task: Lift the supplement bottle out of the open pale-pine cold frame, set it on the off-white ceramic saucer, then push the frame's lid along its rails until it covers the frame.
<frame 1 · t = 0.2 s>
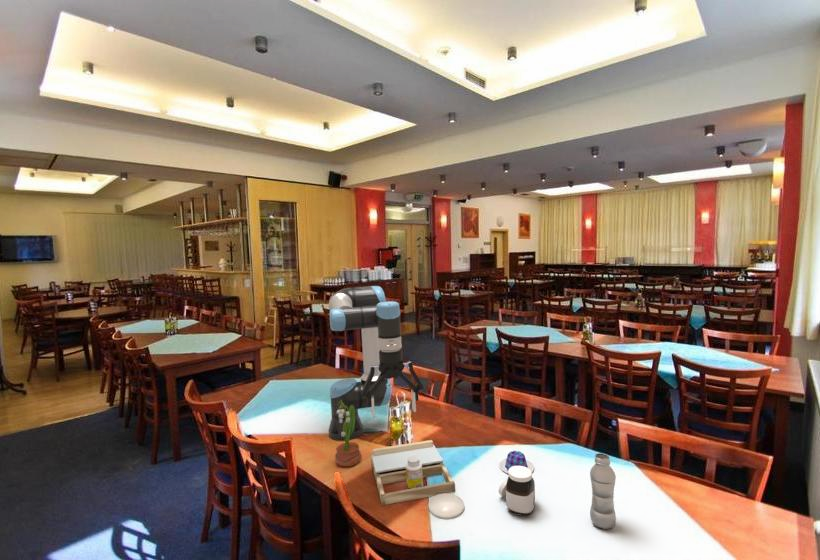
hand: (393, 413, 132), 27 cm above the table, fingers open, 13 cm apart
cold frame: (414, 487, 135), on the table
saucer: (446, 507, 125), on the table
plastic bottle: (603, 525, 114), on the table
potted flower: (347, 463, 154), on the table
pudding: (516, 468, 145), on the table
supplement bottle: (414, 488, 135), resting in cold frame
lid: (406, 455, 148), point 5 cm above the table, slide at 13.0 cm
spread jar: (516, 505, 124), on the table
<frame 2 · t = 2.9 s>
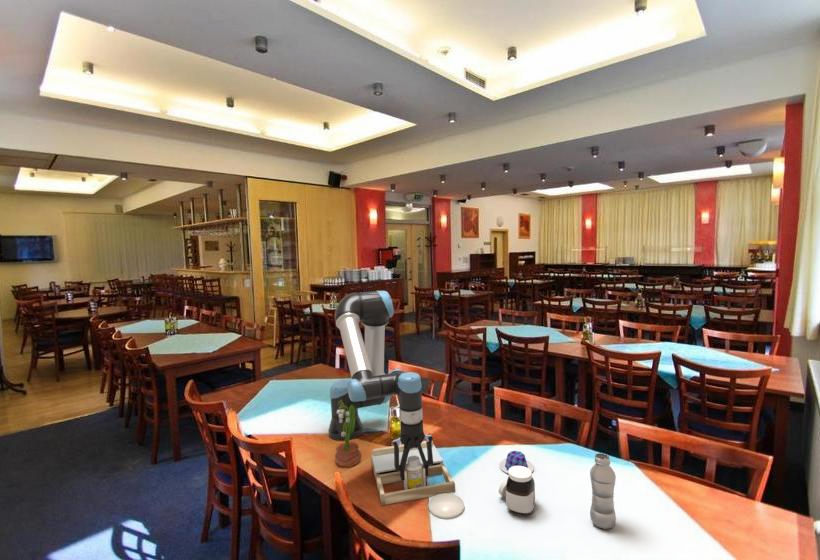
hand: (414, 486, 135), 0 cm above the table, fingers closed on supplement bottle, 5 cm apart
supplement bottle: (414, 488, 135), resting in cold frame, touching gripper
everything else where it was.
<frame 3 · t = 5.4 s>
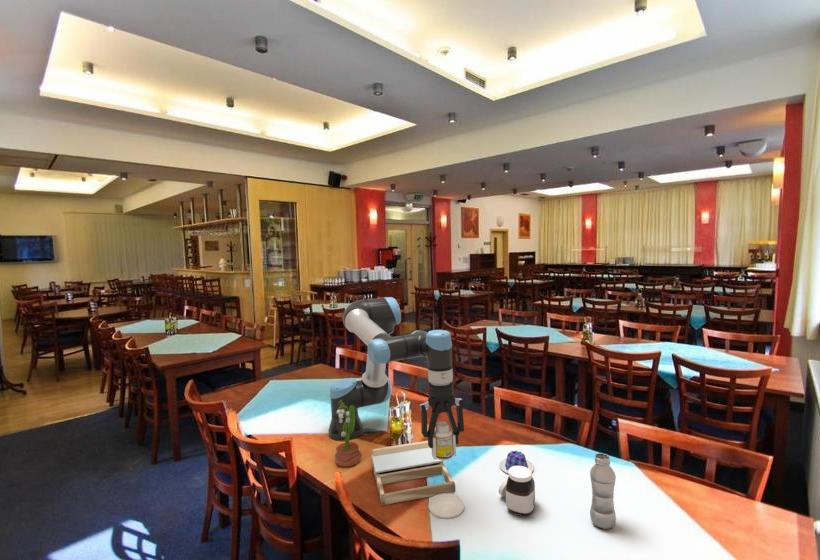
hand: (443, 455, 123), 17 cm above the table, fingers closed on supplement bottle, 5 cm apart
supplement bottle: (444, 457, 123), point 16 cm above the table, touching gripper
everything else where it was.
when the fingers open (3 cm above the table, at t = 8.2 s): supplement bottle drops 1 cm, resting on saucer.
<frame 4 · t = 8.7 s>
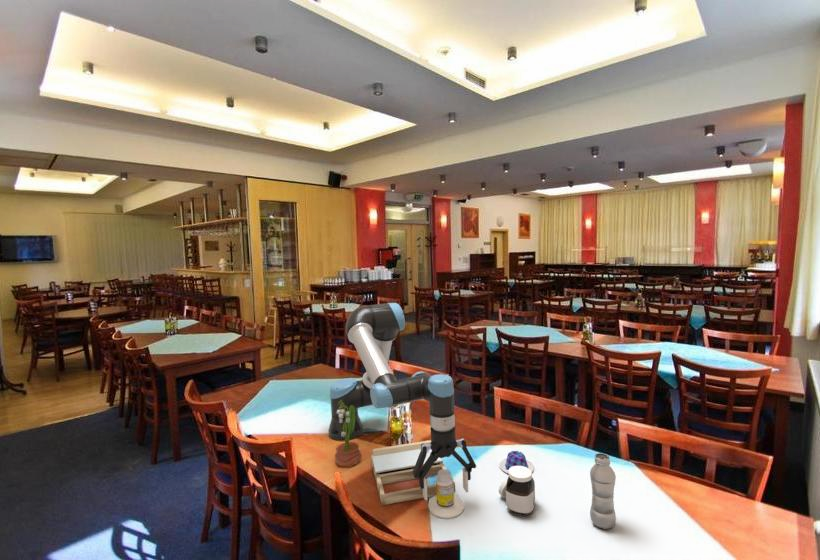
hand: (445, 493, 124), 4 cm above the table, fingers open, 12 cm apart
supplement bottle: (445, 504, 124), point 1 cm above the table, touching saucer
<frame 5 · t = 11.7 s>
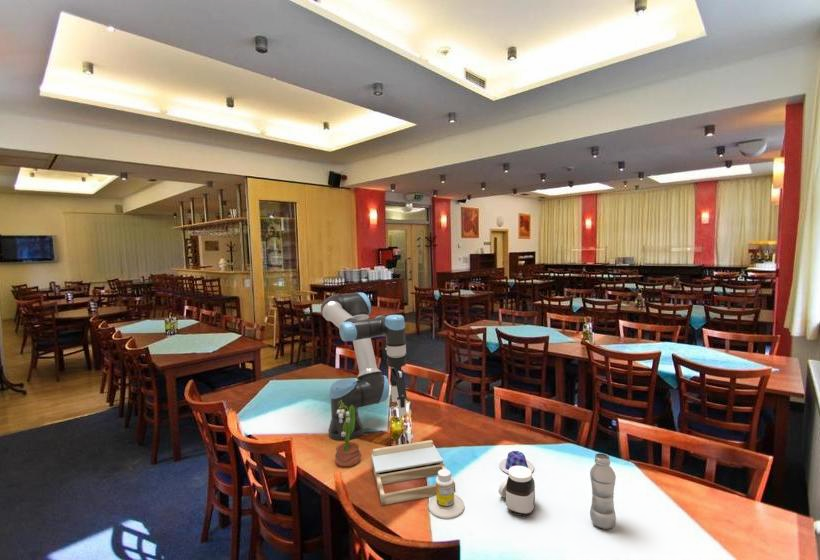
hand: (398, 407, 158), 18 cm above the table, fingers open, 13 cm apart
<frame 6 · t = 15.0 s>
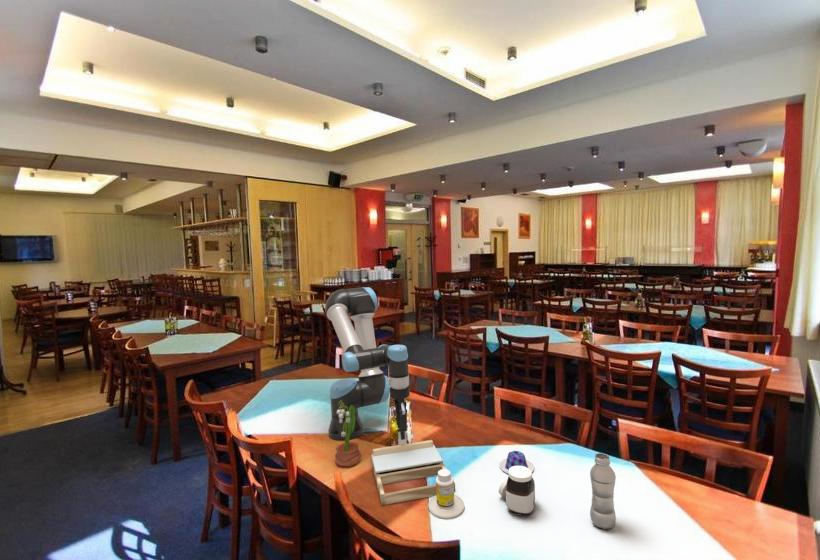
hand: (402, 446, 154), 5 cm above the table, fingers closed
lid: (406, 455, 148), point 5 cm above the table, slide at 13.0 cm, touching gripper
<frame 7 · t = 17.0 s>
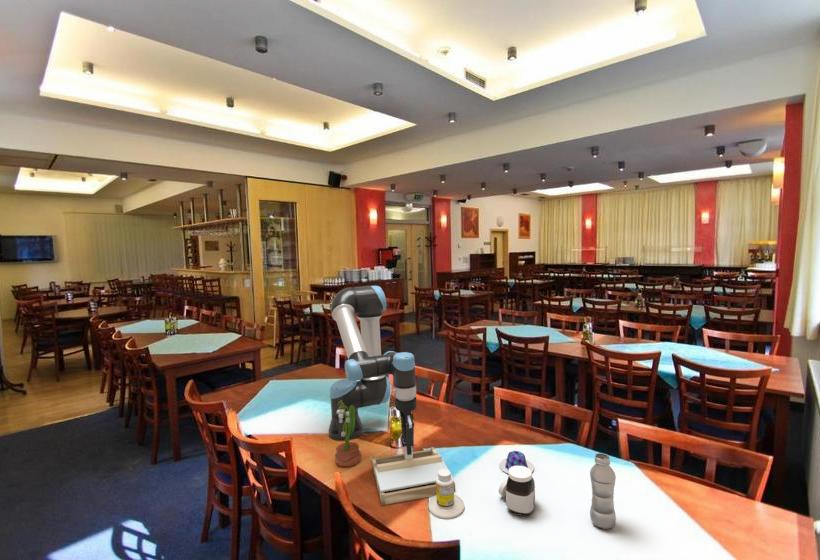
hand: (409, 461, 143), 5 cm above the table, fingers closed
lid: (413, 471, 137), point 5 cm above the table, slide at 1.6 cm, touching gripper
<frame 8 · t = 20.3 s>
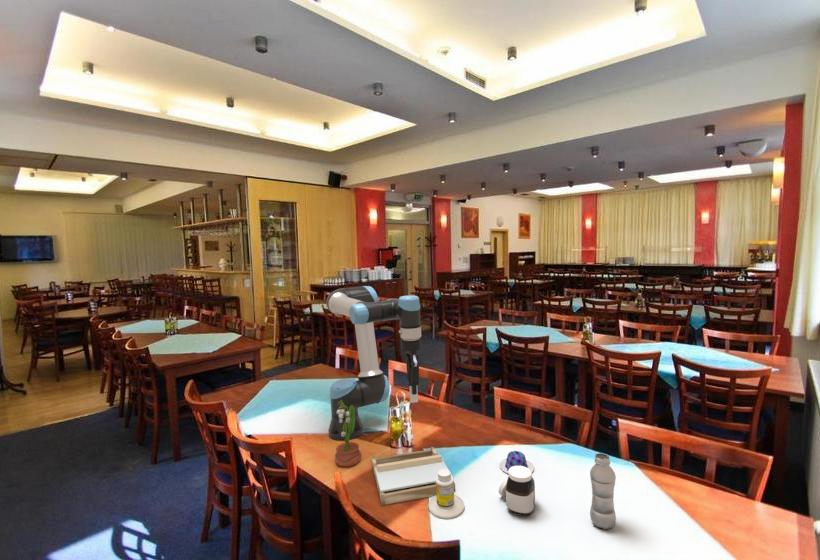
hand: (414, 401, 147), 24 cm above the table, fingers closed
lid: (413, 471, 137), point 5 cm above the table, slide at 1.5 cm
at the end: supplement bottle inside the target area on the saucer (0.2 cm from its centre), point 0.8 cm above the saucer's base; supplement bottle tilted 0°; lid slide at 1.5 cm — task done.
